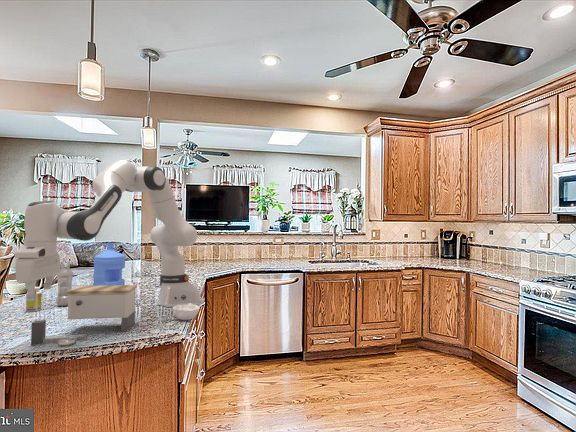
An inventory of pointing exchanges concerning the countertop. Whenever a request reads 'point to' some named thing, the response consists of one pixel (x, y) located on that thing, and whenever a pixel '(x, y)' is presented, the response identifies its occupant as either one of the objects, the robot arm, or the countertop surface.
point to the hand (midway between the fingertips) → (40, 291)
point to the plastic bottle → (64, 284)
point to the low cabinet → (103, 303)
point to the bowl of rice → (185, 311)
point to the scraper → (39, 337)
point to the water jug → (108, 267)
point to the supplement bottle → (34, 301)
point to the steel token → (67, 342)
